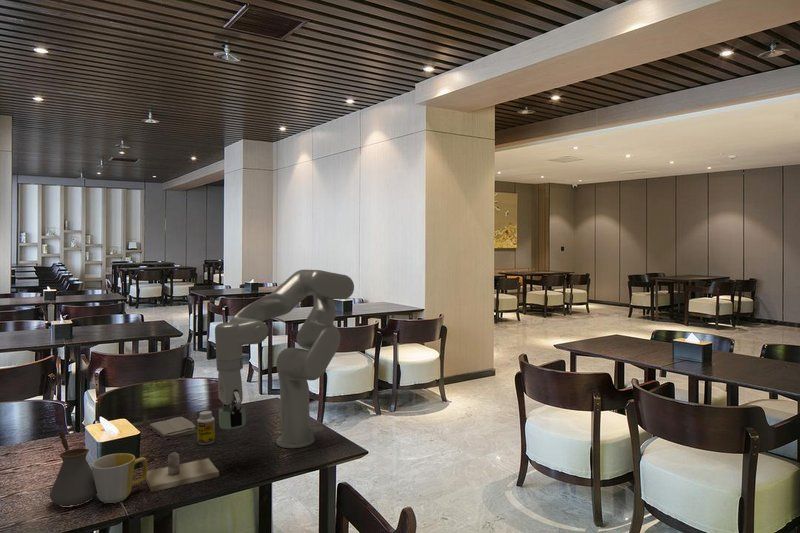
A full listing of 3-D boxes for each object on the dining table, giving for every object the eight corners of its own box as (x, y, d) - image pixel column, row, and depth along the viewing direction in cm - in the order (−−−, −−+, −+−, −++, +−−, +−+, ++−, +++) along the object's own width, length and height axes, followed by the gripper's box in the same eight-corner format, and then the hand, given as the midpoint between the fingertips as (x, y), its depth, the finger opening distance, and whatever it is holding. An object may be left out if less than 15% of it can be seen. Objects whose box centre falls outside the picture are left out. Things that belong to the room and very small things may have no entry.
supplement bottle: (196, 445, 188) (195, 415, 187) (199, 440, 193) (198, 410, 193) (213, 444, 189) (212, 414, 188) (216, 439, 194) (215, 409, 194)
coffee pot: (106, 501, 148) (103, 444, 147) (55, 516, 140) (52, 456, 140) (85, 476, 164) (83, 425, 163) (38, 488, 156) (36, 435, 156)
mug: (97, 512, 142) (96, 471, 141) (88, 498, 150) (87, 459, 149) (154, 496, 151) (153, 457, 150) (143, 484, 158) (142, 446, 158)
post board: (208, 463, 173) (207, 438, 172) (218, 476, 163) (218, 450, 162) (144, 476, 163) (143, 451, 163) (151, 492, 153) (150, 464, 153)
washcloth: (165, 442, 193) (165, 433, 193) (147, 429, 207) (147, 421, 206) (199, 434, 201) (199, 425, 201) (180, 422, 215) (180, 414, 214)
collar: (241, 419, 176) (240, 403, 175) (248, 425, 169) (247, 409, 169) (217, 424, 172) (216, 407, 171) (223, 430, 166) (223, 414, 165)
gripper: (209, 360, 175) (212, 417, 176) (225, 371, 160) (228, 433, 161) (233, 357, 179) (236, 412, 180) (251, 367, 164) (254, 427, 165)
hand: (232, 422), depth 171 cm, fingers closed on collar, 7 cm apart
